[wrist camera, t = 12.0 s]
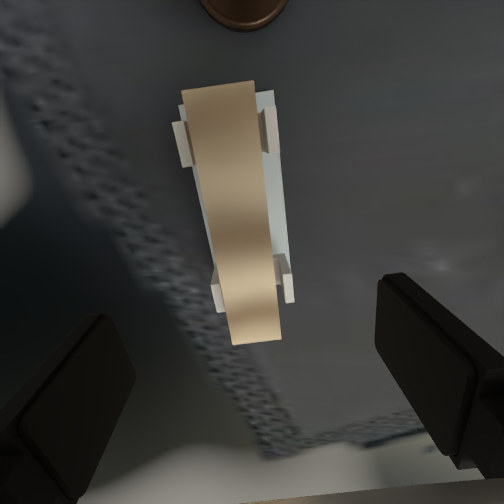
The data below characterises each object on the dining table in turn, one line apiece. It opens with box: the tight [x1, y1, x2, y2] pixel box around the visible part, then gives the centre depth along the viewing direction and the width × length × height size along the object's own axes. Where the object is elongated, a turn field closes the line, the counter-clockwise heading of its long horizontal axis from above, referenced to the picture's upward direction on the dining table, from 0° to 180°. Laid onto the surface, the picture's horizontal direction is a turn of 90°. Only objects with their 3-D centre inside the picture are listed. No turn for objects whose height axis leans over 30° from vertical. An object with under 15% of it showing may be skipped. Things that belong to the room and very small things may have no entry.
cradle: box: [172, 90, 294, 313], centre depth 25 cm, size 20×9×10 cm, turn 8°
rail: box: [181, 80, 281, 345], centre depth 21 cm, size 18×4×7 cm, turn 7°
